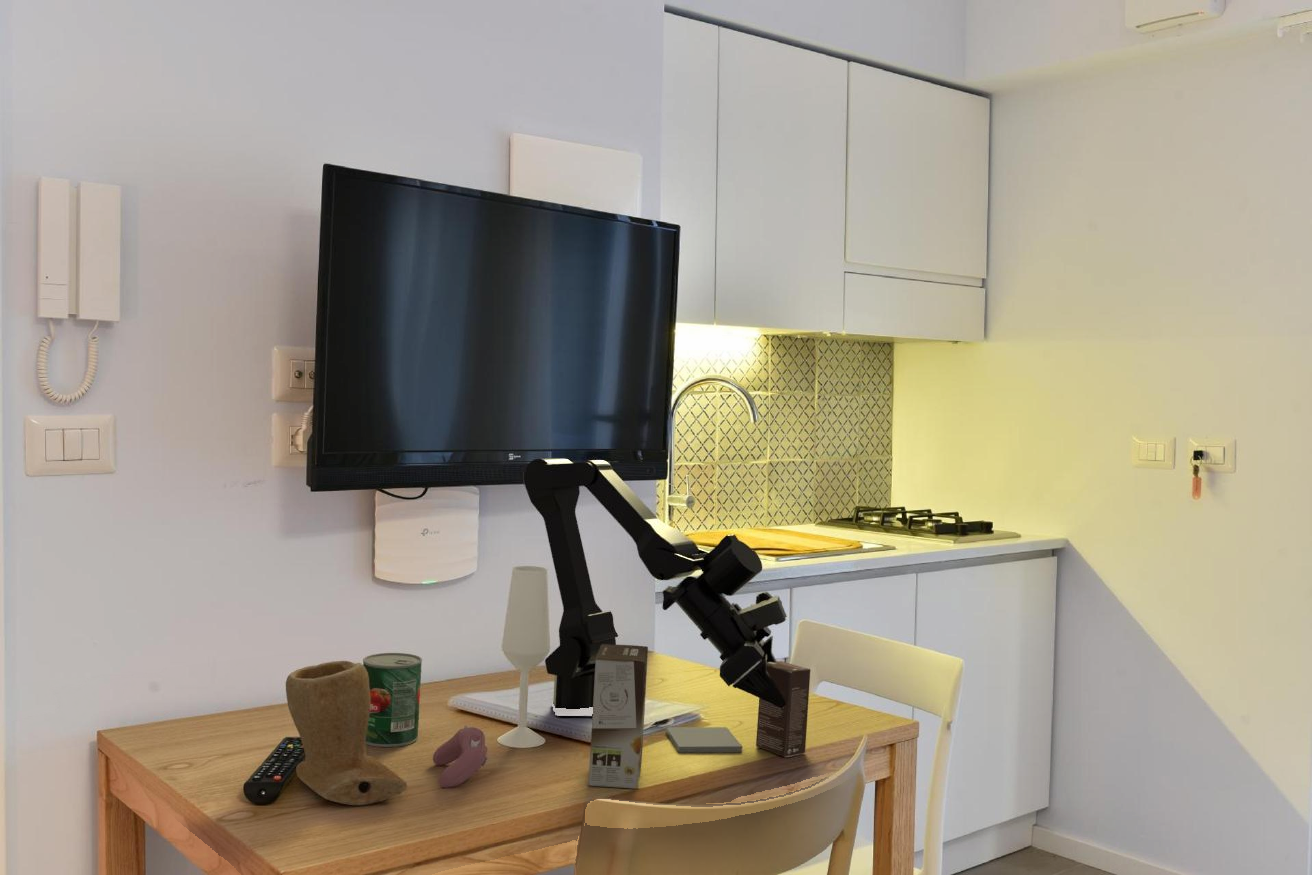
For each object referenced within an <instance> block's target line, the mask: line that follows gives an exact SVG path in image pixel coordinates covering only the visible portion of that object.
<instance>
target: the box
mask: <svg viewBox="0 0 1312 875" xmlns="http://www.w3.org/2000/svg"><path fill="white" fill-rule="evenodd" d="M767 671H768V673H769V674H770V676H771V678H772V679H773V681H774V682H775V684H776V685H777V687H778V689H779V690H780V692H781V693H782V695H783V697H784V698H785V700H786V702H787V704H786V705H785V706H784V707H783V708H779V707H777V706H775V705H773V704H771V703H769V702H767V701H765V700H763V699H761V698H759V697H758V709H757V711H758V712H757V724H756V725H757V727H756V741H755V747H757V748H760V749H763V750H765V751H768V752H771V753H774V754H777V755H778V756H781V757H784V758H792V757H793V758H794V757H797V756H799V755H804V754H805V753H806V745H807V744H806V743H807V732H808V730H807V729H808V728H807V727H808V713H809V712H808V711H809V710H808V709H809V699H810V698H809V696H810V683H811V682H810V681H811V668H808V667H803V666H799V665H796V664H793V663H788V662H785V661H782V660H780V661H779V660H776V662H767Z"/></svg>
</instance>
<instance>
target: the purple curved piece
mask: <svg viewBox="0 0 1312 875" xmlns="http://www.w3.org/2000/svg"><path fill="white" fill-rule="evenodd" d="M487 753H488V746H486V736H485V734H484V731H482V730H481V729H479V728H477V727H474V726H471V727H468V726H467V725H466V724H465V725H464V727H463V728H460V729H459V730H458V731H457V732H456V733H455V734H454V735H453V736H452V737H451V738H450V739H448V740H447V741H446V742H444V743H442V744H441V745H440V746H439V747H438V748H437V749H436V750H435V751H434V753H433V755H432V761H433V762H432V763H434V764H435V765H436V766H445V765H448V764H449V766H448V767H446V768H445V769H444V770H443V772H442V773H441V774H440V776H439V785H440V786H441V787H442V788H445V789H449V788H453V787H457V786H459V785H461V784H462V783H464V782H465V781H469V779H470V778H471V777H472V776H473V775H474V774H475V773H477V772H478V771H479V770H480V769H481V767H484V766H486V765H487V763H488V759H489V758H488V756H487Z"/></svg>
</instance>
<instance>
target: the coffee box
mask: <svg viewBox="0 0 1312 875" xmlns="http://www.w3.org/2000/svg"><path fill="white" fill-rule="evenodd" d="M648 652H649V646H644V645H634V644H633V645H632V644H631V645H630V644H616V645H608V644H602V645H601V647H600V649H599V651H598V653H597V655H596V657H595V678H594V695H593V714H592V718H591V731H590V732H591V733H590V734H591V736H590V748H589V749H590V752H589V754H590V756H589V767H588V768H589V770H588V772H589V773H588V786H591V787H606V788H617V789H618V788H620V789H621V788H622V789H631V790H632V789H637V788H638V785H639V780H640V774H641V771H642V770H641V769H642V761H643V749H644V748H643V745H644V742H643V741H644V728H645V727H644V726H645V713H646V712H645V706H646V692H647V690H646V689H647V674H648V654H649V653H648Z"/></svg>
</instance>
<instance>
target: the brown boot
mask: <svg viewBox="0 0 1312 875" xmlns="http://www.w3.org/2000/svg"><path fill="white" fill-rule="evenodd" d="M285 692H286V700H287V706H288V711H289V713H290V716H291V719H292V721H293V723H294V726H295V727H296V730H297V732H298V735H299V738H300V740H301V744H302V747H303V751H304V754H305V757H304V760H303V761H301V762H300V763H299V764H297V766H296V770H295V771H296V772H295V773H296V775H297V777H298V778H299V780H300V781H301V782H302V783H304V784H305V785H306V786H307V787H308V788H309V789H311V790H312V791H313V792H315V793H316V794H317V795H318V796H320V797H322V798H323V799H325V800H327V801H331V802H335V803H337V804H338V803H339V804H344V805H350V806H364V805H366V806H367V805H372V804H376V803H380V802H384V801H386V800H389V799H391V798H394V797H395V796H397V795H398V796H399V795H400V794H402V793H403V792H405V791H406V790H407V788H408V783H407V782H406V781H405V780H403V779H402V778H401V777H400V776H399V775H398V774H397V773H396V772H394V771H393V770H391V769H390V768H389V767H388V766H386V765H384V763H382V762H381V761H380V760H378V759H376V758H375V757H373V756H371V755H369V754H367V750H366V749H367V748H366V747H367V746H366V744H365V743H366V732H367V726H368V721H369V715H370V708H371V698H370V687H369V676H368V673H367V670H366V668H365V667H364V666H363V664H362V663H361V662H356V663H355V662H352V661H348V660H336V661H328V662H322V663H320V664H316V665H315V664H313V665H308V666H303V667H302V668H297V669H296V670H294V671H293V672H291V673H290V674H289V675H288V676H287V677H286V680H285Z"/></svg>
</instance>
